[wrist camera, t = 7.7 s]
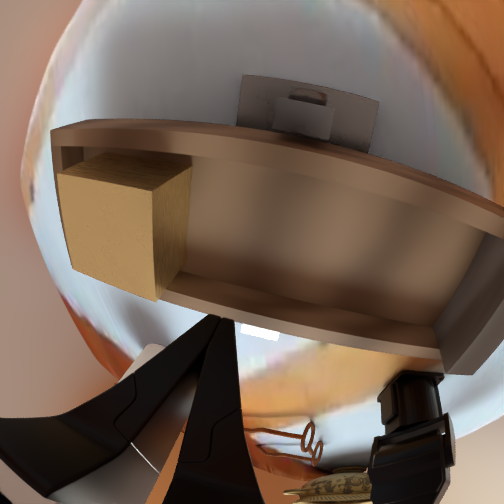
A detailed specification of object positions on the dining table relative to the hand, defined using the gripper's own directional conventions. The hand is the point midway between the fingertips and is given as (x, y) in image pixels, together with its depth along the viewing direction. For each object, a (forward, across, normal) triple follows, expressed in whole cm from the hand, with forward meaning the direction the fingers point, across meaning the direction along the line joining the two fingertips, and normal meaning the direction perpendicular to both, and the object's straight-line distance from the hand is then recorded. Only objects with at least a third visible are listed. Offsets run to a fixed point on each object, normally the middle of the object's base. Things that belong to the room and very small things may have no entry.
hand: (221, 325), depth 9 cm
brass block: (+7, +7, 0) cm, 10 cm away
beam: (+8, -1, 0) cm, 8 cm away
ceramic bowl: (+12, -29, +57) cm, 65 cm away
